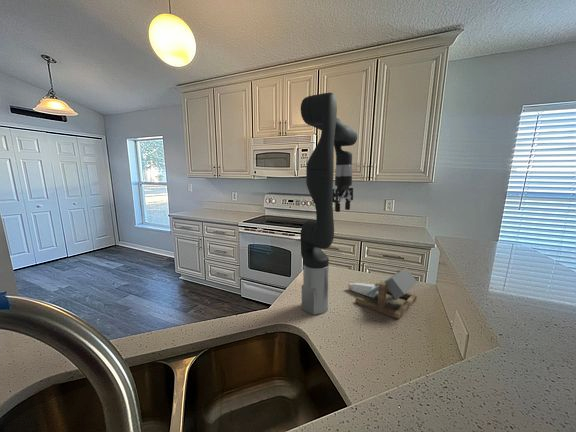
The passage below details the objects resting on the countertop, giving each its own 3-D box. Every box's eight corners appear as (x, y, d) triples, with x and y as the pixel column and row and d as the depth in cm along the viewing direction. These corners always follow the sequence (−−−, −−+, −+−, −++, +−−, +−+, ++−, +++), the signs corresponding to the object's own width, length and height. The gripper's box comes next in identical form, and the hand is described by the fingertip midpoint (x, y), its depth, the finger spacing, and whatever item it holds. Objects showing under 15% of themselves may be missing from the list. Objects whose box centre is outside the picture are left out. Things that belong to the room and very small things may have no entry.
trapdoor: (404, 294, 84) (391, 277, 87) (377, 309, 92) (366, 293, 94) (417, 282, 94) (405, 267, 96) (392, 296, 102) (381, 282, 104)
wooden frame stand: (398, 319, 84) (400, 289, 82) (355, 302, 96) (356, 276, 94) (416, 299, 97) (418, 273, 96) (376, 287, 109) (377, 263, 107)
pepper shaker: (370, 298, 97) (345, 292, 104) (376, 297, 101) (351, 292, 108) (371, 284, 98) (346, 279, 105) (377, 284, 101) (352, 279, 109)
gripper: (344, 175, 119) (343, 208, 121) (327, 175, 109) (326, 211, 111) (358, 175, 113) (357, 209, 116) (342, 175, 103) (341, 213, 106)
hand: (342, 210), depth 114 cm, fingers open, 8 cm apart
